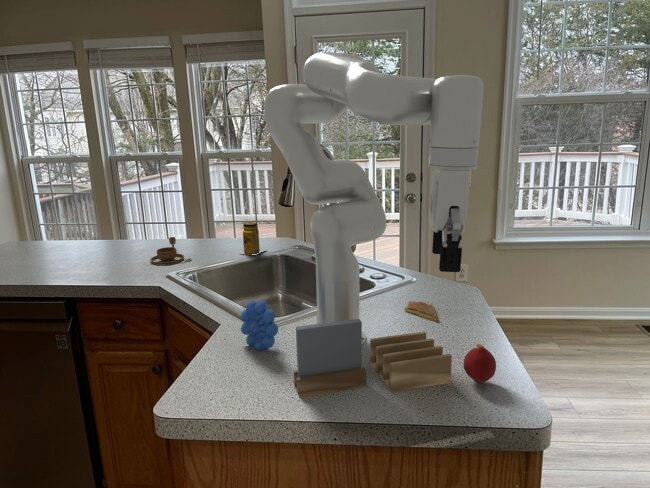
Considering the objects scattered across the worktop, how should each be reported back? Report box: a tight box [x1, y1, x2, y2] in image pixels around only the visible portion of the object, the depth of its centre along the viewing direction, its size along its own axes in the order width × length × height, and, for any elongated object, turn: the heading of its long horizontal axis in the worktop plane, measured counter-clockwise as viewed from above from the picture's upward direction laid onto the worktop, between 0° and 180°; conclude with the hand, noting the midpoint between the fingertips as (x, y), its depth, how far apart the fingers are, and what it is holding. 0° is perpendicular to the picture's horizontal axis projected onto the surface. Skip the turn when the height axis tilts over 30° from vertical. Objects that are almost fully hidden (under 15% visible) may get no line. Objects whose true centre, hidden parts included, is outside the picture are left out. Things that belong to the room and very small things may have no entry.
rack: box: [368, 331, 453, 393], centre depth 90 cm, size 12×12×6 cm
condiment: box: [242, 221, 261, 256], centre depth 180 cm, size 7×8×12 cm
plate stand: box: [292, 367, 369, 399], centre depth 87 cm, size 6×13×4 cm, turn 105°
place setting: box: [150, 236, 192, 266], centre depth 175 cm, size 18×20×6 cm
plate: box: [295, 318, 363, 378], centre depth 85 cm, size 1×12×12 cm, turn 105°
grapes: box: [240, 300, 279, 351], centre depth 101 cm, size 12×7×12 cm, turn 47°
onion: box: [462, 343, 497, 384], centre depth 87 cm, size 6×6×8 cm
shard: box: [404, 301, 439, 322], centre depth 120 cm, size 11×8×2 cm
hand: (445, 262), depth 78 cm, fingers open, 9 cm apart
